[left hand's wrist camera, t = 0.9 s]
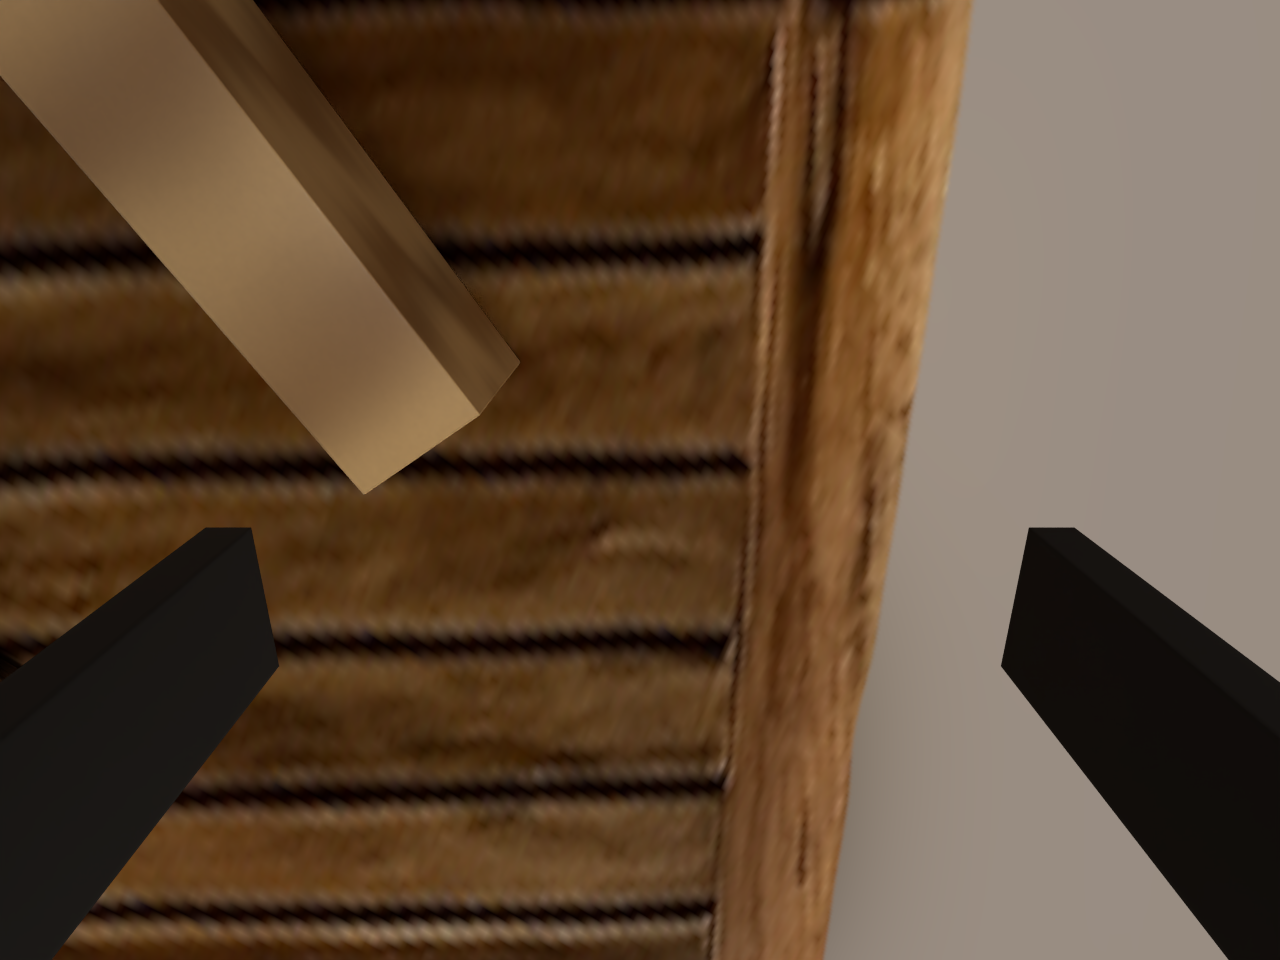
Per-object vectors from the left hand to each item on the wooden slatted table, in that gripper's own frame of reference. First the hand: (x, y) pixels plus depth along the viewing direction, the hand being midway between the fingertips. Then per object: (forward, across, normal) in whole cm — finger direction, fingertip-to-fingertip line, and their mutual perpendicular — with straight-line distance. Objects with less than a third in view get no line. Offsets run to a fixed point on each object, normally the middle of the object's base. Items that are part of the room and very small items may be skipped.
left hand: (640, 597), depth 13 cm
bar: (+18, +14, -9) cm, 25 cm away
